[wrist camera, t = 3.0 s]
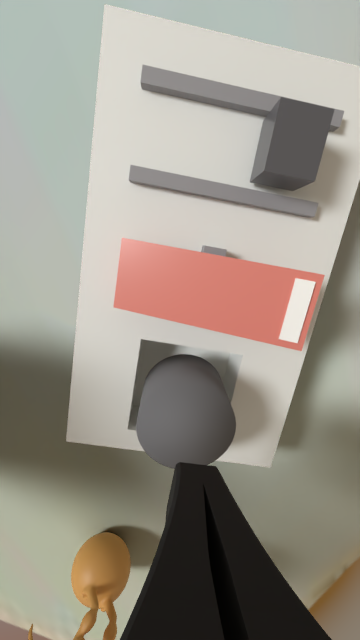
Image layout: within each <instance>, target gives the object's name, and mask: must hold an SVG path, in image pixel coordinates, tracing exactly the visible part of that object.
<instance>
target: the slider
mask: <svg viewBox="0 0 360 640" xmlns="http://www.w3.org/2000/svg"><path fill="white" fill-rule="evenodd" d="M334 110H335V109H332V108H328V107H323V106H319V105H315V104H310V103H306V102H302V101H297V100H293V99H289V98H284V97H281V98H280V99H279V100H278V102H277V103H276V104H275V106H274V107H273V108H272V110H271V111H270V112H269V114H268V115H267V116H266V118H265V119H264V120H263V124H262V128H261V133H260V137H259V142H258V146H257V151H256V155H255V160H254V165H253V169H252V174H251V178H250V183H255V184H260V185H265V186H270V187H275V188H280V189H285V190H289V191H294V190H297V189H299V188H301V187H304V186H306V185H308V184H310V183H313V182H315V180H316V176H317V172H318V169H319V165H320V161H321V158H322V154H323V150H324V147H325V143H326V139H327V136H328V132H329V128H330V125H331V121H332V117H333V114H334Z"/></svg>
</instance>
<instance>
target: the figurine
mask: <svg viewBox="0 0 360 640" xmlns="http://www.w3.org/2000/svg"><path fill="white" fill-rule="evenodd" d="M130 566H131V561H130V554H129V550H128V548H127V546H126V544H125V542H124V541H123V540H122V539H121V538H120V537H119V536H117V535H115V534H113V533H108V532H104V533H99V534H96V535H94V536H93V537H91V538H90V539H88V540H87V541H86V542H85V543H84V544H83V545H82V547H81V548H80V550H79V551H78V553H77V555H76V557H75V560H74V563H73V567H72V573H71V581H72V587H73V591H74V593H75V595H76V597H77V599H78V600H79V601H80V602H81V603H82V604H83V605H85V606H87V607H89V608H91V610H90V611H89V612H87V613H86V615H85V616H84V618H83V620H82V622H81V625H80V628H79V630H78V632H77V634H76V635H75V637H74V639H73V640H85V639H84V638H83V636H84V635H85V634H86V633H88V632H89V631H90V630H91V628H92V627H93V626H94V624H95V622H96V617H97V611H98V608H99V609H100V608H101V611H102V612H105V611H106V613H107V615H108V618H109V620H110V622H109V625H108V626H107V628H106V630H105V632H104V636H103V640H114V639H115V637H116V634H117V626H116V619H117V615H116V612H115V609H114V606H113V602H114V601H115V600H116V599H117V598H118V597H119V595H120V594H121V593H122V591H123V590H124V588H125V586H126V584H127V581H128V578H129V574H130ZM32 630H33V624H32V626H31V628H30V629H29V634H28V640H33V637H32Z"/></svg>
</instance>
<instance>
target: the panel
mask: <svg viewBox="0 0 360 640" xmlns="http://www.w3.org/2000/svg"><path fill="white" fill-rule="evenodd" d="M281 97H284V98H289V99H293V100H297V101H302V102H306V103H310V104H315V105H319V106H323V107H328V108H332V109H335V110H334V114H333V117H332V121H331V125H330V128H329V132H328V136H327V139H326V143H325V147H324V150H323V154H322V158H321V161H320V165H319V169H318V172H317V176H316V180H315V182H313V183H310V184H308V185H306V186H304V187H301V188H299V189H297V190H294V191H289V190H285V189H280V188H275V187H270V186H265V185H260V184H255V183H250V178H251V174H252V169H253V165H254V160H255V155H256V151H257V146H258V142H259V137H260V133H261V128H262V124H263V120H264V119H265V118H266V116H267V115H268V114H269V112H270V111H271V110H272V108H273V107H274V106H275V104H276V103H277V102H278V100H279V99H280V98H281ZM359 180H360V66H357V65H352V64H348V63H344V62H340V61H336V60H332V59H328V58H324V57H320V56H316V55H311V54H307V53H303V52H299V51H295V50H291V49H287V48H283V47H279V46H275V45H270V44H266V43H262V42H258V41H254V40H250V39H246V38H242V37H238V36H234V35H229V34H225V33H221V32H217V31H213V30H209V29H205V28H201V27H197V26H193V25H188V24H184V23H180V22H176V21H172V20H168V19H164V18H160V17H156V16H152V15H147V14H143V13H139V12H135V11H131V10H127V9H123V8H119V7H115V6H111V5H106V4H104V16H103V27H102V38H101V50H100V61H99V72H98V84H97V95H96V106H95V118H94V129H93V140H92V152H91V163H90V174H89V186H88V197H87V208H86V220H85V231H84V242H83V254H82V265H81V276H80V288H79V299H78V310H77V321H76V333H75V344H74V355H73V367H72V378H71V389H70V401H69V412H68V423H67V435H66V442H74V443H82V444H90V445H98V446H105V447H113V448H121V449H129V450H137V451H144V450H143V448H142V446H141V445H140V443H139V440H138V437H137V431H136V423H137V417H138V412H139V407H140V401H141V396H142V391H143V386H144V382H145V379H146V376H147V375H148V373H149V371H150V370H151V369H152V368H153V367H154V366H155V365H156V364H157V363H158V362H160V361H161V360H163V359H165V358H167V357H170V356H173V355H179V354H189V355H195V356H198V357H201V358H203V359H205V360H206V361H208V362H209V363H211V364H212V365H213V366H214V367H215V369H216V370H217V371H218V373H219V375H220V377H221V379H222V382H223V385H224V387H225V390H226V393H227V395H228V398H229V400H230V403H231V406H232V408H233V411H234V414H235V418H236V431H235V435H234V438H233V441H232V443H231V445H230V446H229V448H228V449H227V451H226V452H225V453H224V454H223V455H222V456H221V457H219V458H218V459H217V460H216V461H223V462H231V463H239V464H247V465H255V466H263V467H271V465H272V462H273V459H274V455H275V452H276V449H277V446H278V442H279V439H280V436H281V433H282V429H283V426H284V423H285V420H286V417H287V413H288V410H289V407H290V404H291V400H292V397H293V394H294V391H295V387H296V384H297V381H298V378H299V374H300V371H301V368H302V365H303V361H304V358H305V355H306V352H307V349H308V345H309V342H310V339H311V336H312V332H313V329H314V326H315V323H316V319H317V316H318V313H319V310H320V306H321V303H322V300H323V297H324V293H325V290H326V287H327V284H328V280H329V277H330V274H331V271H332V268H333V264H334V261H335V258H336V255H337V251H338V248H339V245H340V242H341V238H342V235H343V232H344V229H345V225H346V222H347V219H348V216H349V212H350V209H351V206H352V203H353V200H354V196H355V193H356V190H357V187H358V183H359ZM122 238H127V239H133V240H139V241H144V242H149V243H155V244H160V245H166V246H171V247H177V248H182V249H187V250H193V251H198V252H204V253H209V254H215V255H220V256H225V257H231V258H236V259H242V260H247V261H253V262H258V263H263V264H269V265H274V266H280V267H285V268H291V269H296V270H301V271H307V272H312V273H318V274H323V275H325V276H324V279H323V282H322V286H321V289H320V292H319V296H318V299H317V302H316V305H315V309H314V312H313V315H312V319H311V322H310V325H309V328H308V332H307V335H306V338H305V342H304V345H303V348H302V351H298V350H294V349H289V348H285V347H281V346H277V345H272V344H268V343H264V342H259V341H255V340H251V339H247V338H242V337H238V336H234V335H229V334H225V333H221V332H217V331H212V330H208V329H204V328H199V327H195V326H191V325H187V324H182V323H178V322H174V321H169V320H165V319H161V318H157V317H152V316H148V315H144V314H139V313H135V312H131V311H127V310H122V309H118V308H114V307H113V306H114V298H115V290H116V282H117V273H118V265H119V257H120V248H121V240H122Z"/></svg>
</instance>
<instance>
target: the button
mask: <svg viewBox="0 0 360 640" xmlns="http://www.w3.org/2000/svg"><path fill="white" fill-rule="evenodd" d="M136 431H137V437H138V440H139V443H140V445H141V446H142V448H143V450H144V451H145V452H146V453H147V454H148V455H149V456H150V457H151V458H152V459H153V460H155V461H156V462H158V463H160V464H162V465H164V466H167V467H170V468H175V466H176V464H177V463H179V462H184V463H192V464H200V465H208V464H210V463H212V462H214V461H215V460H217V459H218V458H219V457H221V456H222V455H223V454H224V453H225V452H226V451H227V449H228V448H229V446H230V445H231V443H232V441H233V438H234V435H235V431H236V418H235V414H234V411H233V408H232V406H231V403H230V400H229V398H228V395H227V393H226V390H225V387H224V385H223V382H222V379H221V377H220V375H219V373H218V371H217V370H216V369H215V367H214V366H213V365H212V364H211V363H209V362H208V361H206V360H205V359H203V358H201V357H198V356H195V355H189V354H179V355H173V356H170V357H167V358H165V359H163V360H161V361H160V362H158V363H157V364H156V365H155V366H154V367H153V368H152V369H151V370H150V371H149V373H148V375H147V376H146V379H145V382H144V386H143V391H142V396H141V401H140V407H139V412H138V417H137V423H136Z"/></svg>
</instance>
